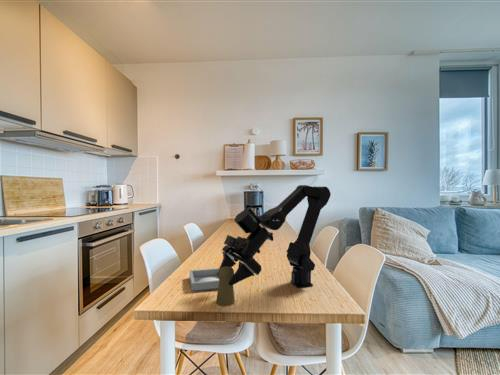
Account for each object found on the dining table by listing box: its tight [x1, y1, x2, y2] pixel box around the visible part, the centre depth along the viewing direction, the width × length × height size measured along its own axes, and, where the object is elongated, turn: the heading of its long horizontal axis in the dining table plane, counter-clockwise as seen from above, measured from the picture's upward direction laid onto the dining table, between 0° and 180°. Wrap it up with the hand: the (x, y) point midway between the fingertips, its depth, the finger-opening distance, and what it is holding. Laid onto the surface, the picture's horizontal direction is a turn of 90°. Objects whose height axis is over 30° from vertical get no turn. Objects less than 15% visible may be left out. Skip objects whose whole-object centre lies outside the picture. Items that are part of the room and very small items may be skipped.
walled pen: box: [189, 267, 220, 293], centre depth 95 cm, size 14×14×3 cm
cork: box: [215, 266, 236, 307], centre depth 80 cm, size 6×6×11 cm
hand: (223, 279), depth 79 cm, fingers open, 9 cm apart
